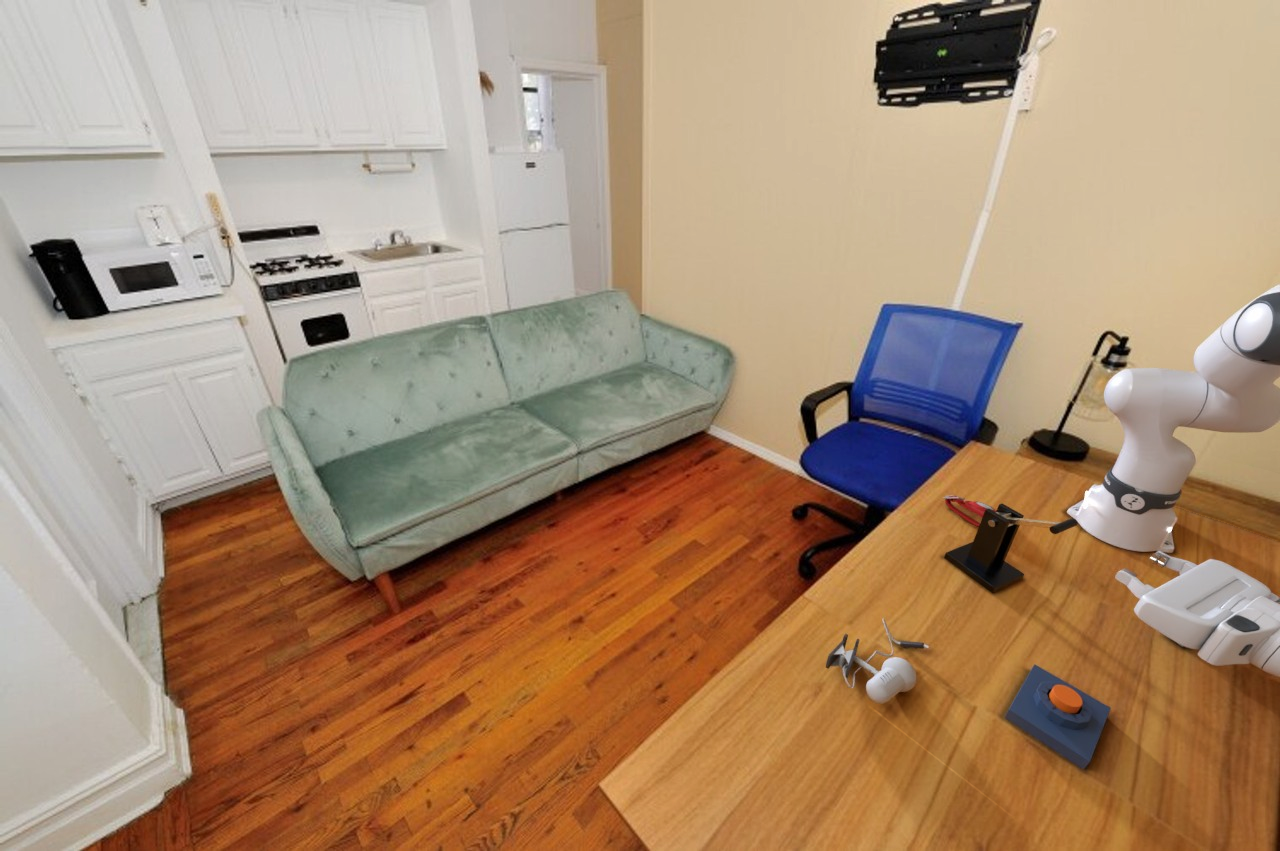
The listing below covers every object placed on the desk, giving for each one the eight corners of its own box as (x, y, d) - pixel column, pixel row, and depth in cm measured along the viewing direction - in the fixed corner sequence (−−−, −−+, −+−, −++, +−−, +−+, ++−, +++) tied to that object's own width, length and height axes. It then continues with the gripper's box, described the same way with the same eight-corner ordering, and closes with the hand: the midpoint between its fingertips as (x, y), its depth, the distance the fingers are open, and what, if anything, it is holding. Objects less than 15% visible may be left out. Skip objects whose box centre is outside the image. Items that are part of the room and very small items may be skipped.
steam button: (1052, 687, 79) (1056, 680, 78) (1081, 703, 76) (1085, 696, 76) (1045, 701, 77) (1049, 694, 76) (1074, 719, 74) (1079, 711, 74)
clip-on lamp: (871, 634, 96) (817, 670, 85) (879, 605, 94) (824, 639, 83) (936, 674, 87) (884, 720, 76) (945, 643, 85) (894, 686, 74)
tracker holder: (993, 503, 124) (1015, 520, 115) (985, 518, 125) (1006, 536, 116) (944, 488, 125) (961, 503, 116) (936, 503, 127) (953, 520, 117)
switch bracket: (1022, 579, 103) (1048, 522, 96) (992, 593, 100) (1017, 535, 93) (972, 546, 112) (993, 492, 105) (943, 557, 109) (963, 502, 102)
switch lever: (1079, 528, 90) (1076, 515, 90) (1059, 537, 88) (1056, 524, 88) (1005, 521, 103) (1002, 509, 103) (986, 528, 101) (984, 516, 101)
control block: (1029, 672, 85) (1038, 656, 83) (1105, 716, 78) (1115, 700, 76) (1004, 717, 78) (1012, 701, 76) (1083, 770, 72) (1095, 754, 70)
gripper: (1304, 588, 72) (1181, 531, 83) (1230, 638, 65) (1106, 567, 76) (1278, 619, 75) (1163, 559, 86) (1205, 670, 68) (1090, 597, 79)
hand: (1136, 563), depth 81 cm, fingers open, 8 cm apart
